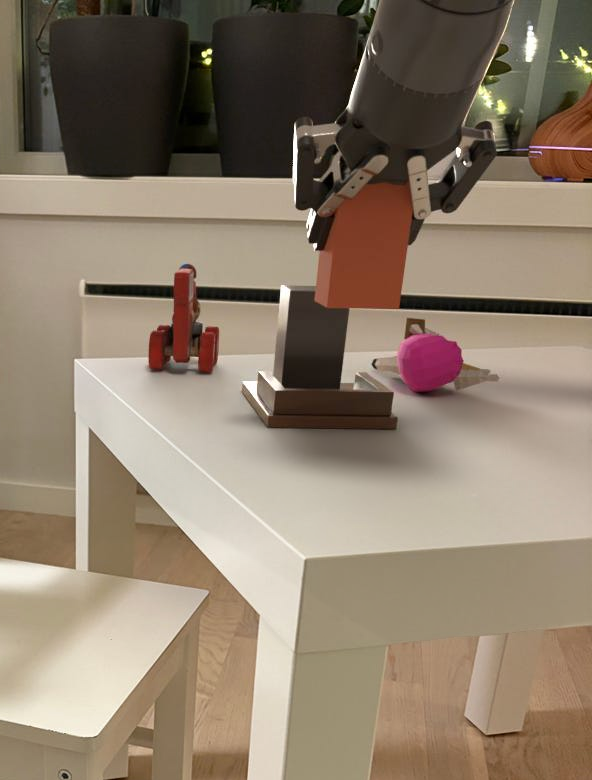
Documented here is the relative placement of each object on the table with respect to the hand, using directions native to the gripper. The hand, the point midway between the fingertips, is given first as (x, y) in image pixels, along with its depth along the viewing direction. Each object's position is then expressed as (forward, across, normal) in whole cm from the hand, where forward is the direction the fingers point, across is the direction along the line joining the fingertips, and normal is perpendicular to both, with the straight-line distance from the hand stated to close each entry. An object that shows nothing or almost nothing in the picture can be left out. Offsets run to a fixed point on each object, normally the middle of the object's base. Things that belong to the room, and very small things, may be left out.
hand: (356, 241), depth 75 cm
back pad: (+2, 0, +4) cm, 5 cm away
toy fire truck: (+31, +10, -10) cm, 34 cm away
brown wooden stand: (+17, 0, +4) cm, 17 cm away
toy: (+25, -15, -4) cm, 30 cm away
